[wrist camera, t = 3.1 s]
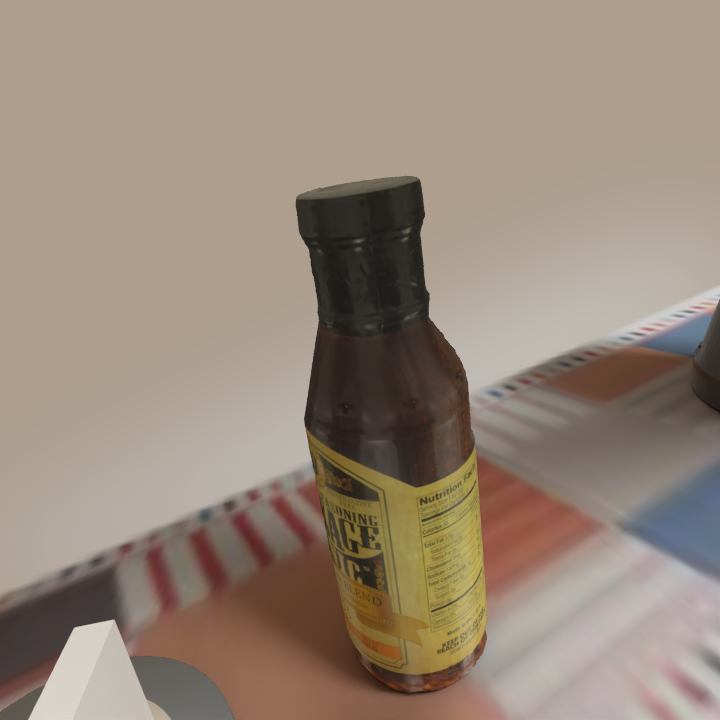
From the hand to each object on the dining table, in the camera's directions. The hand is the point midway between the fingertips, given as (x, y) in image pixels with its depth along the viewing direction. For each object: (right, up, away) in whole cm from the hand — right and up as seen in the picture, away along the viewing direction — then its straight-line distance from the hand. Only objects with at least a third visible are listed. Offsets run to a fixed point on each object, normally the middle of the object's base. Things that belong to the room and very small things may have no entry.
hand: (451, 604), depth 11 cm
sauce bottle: (+1, -8, +13) cm, 16 cm away
